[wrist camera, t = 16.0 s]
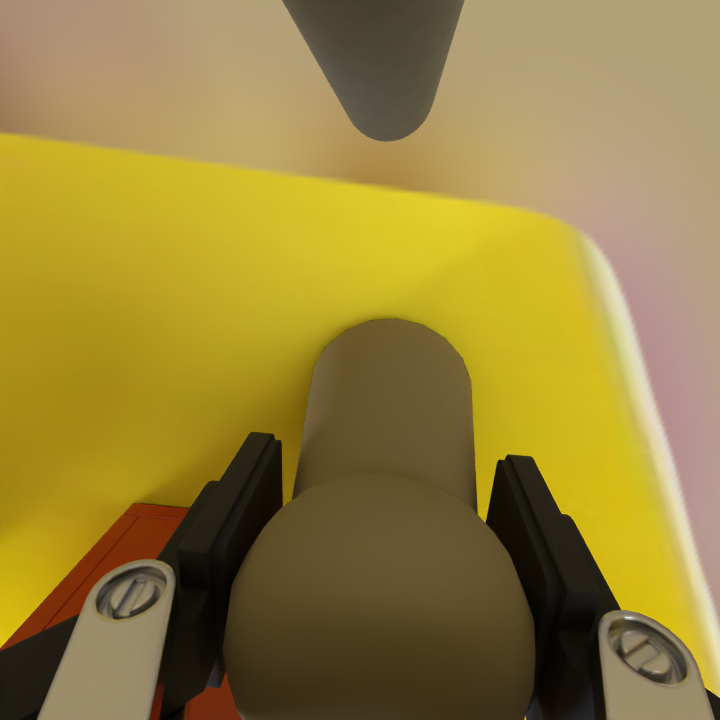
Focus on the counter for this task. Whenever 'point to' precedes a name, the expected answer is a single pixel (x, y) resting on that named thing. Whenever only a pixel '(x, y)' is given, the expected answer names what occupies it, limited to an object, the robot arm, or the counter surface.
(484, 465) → the counter surface
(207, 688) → the cabinet
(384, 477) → the cork
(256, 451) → the robot arm
